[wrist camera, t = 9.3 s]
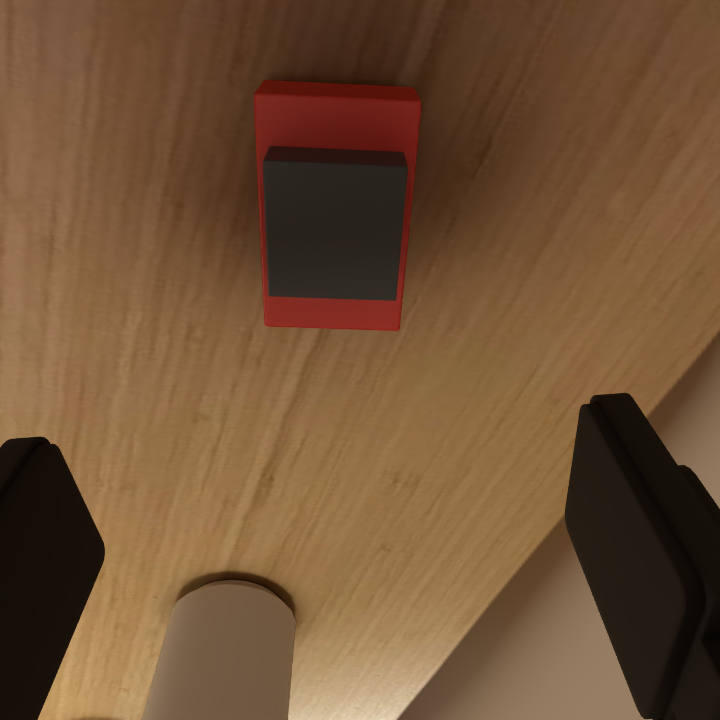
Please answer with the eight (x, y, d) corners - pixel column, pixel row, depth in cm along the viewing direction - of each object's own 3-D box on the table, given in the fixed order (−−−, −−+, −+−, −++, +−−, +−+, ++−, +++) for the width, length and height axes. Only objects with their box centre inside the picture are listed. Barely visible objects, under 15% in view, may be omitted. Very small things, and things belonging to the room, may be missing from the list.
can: (291, 569, 35) (267, 815, 25) (301, 642, 39) (284, 878, 29) (162, 572, 35) (86, 819, 25) (186, 645, 39) (129, 882, 29)
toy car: (412, 82, 20) (265, 75, 20) (428, 111, 16) (245, 102, 16) (394, 292, 25) (273, 287, 25) (402, 355, 21) (258, 350, 21)
